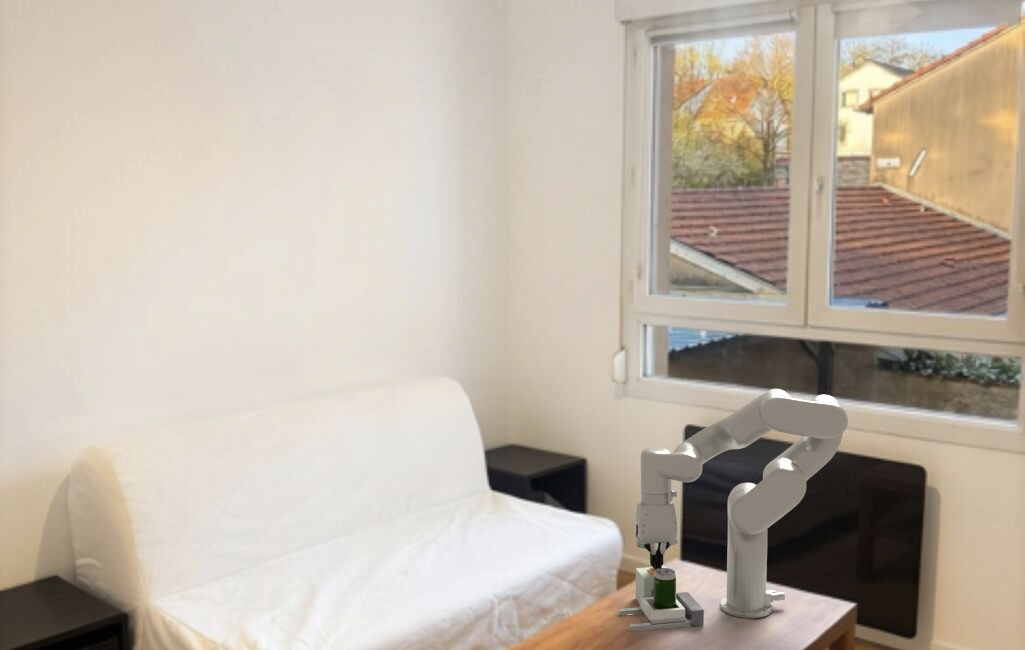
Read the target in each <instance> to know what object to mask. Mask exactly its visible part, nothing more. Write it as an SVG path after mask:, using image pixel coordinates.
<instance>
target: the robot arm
mask: <svg viewBox="0 0 1025 650" xmlns="http://www.w3.org/2000/svg"><path fill="white" fill-rule="evenodd" d="M848 422H849V418H848V414H847V413H846V410H845V409H844V408H843V406H842V404H841V402H839V401H838V400H837V398H835V397H834V396H831V395H829V394H820V395H817V396H815V397H813V398H812V399H811V400H804V399H798V398H794V397H793V398H792V397H791V396H790V394H789V393H788V392H786V391H785V390H783V389H780V388H772V389H769V390H766V392H763V393H762V394H761V395H759V396H757V397H756V398H754V399H752V400H751V401H750V402H747V404H745V405H743V406H742V407H740V408H739V409H738V410H736V411H734V412H733V413H730V414H729V415H728V416H726V417H724V418H723V419H720V420H718V421H717V422H714V423H713V424H711V425H709V426H706V427H705V428H702V429H701V430H699V431H698V432H696V433H695V434H693V435H691V436H690V437H689V438H687V439H686V440H684V441H683V442H681V443H680V444H678V446H676V448H675V449H674V451H673V452H672V453H671V451H670V450H668V448H667V449H666V448H664V447H656V446H654V447H653V446H652V447H648V448H645V449H643V450H642V451H641V453H640V501H638V502H637V505H636V512H635V520H634V536H635V538H636V539H635V546H636V547H637V548H640V549H646V551H648V552H649V563H650V567H653V568H654V569H655V570H656V569H659V568H662V566H664V555H665V553H666V551H667V550H668V549H669V548H670V547H672V546H674V545H675V546H676V545H678V533H679V532H678V531H679V530H678V521H677V520H678V518H677V512H676V506H675V503H674V501H673V498H677V496H678V494H677V491H676V490H675V491H674V490H672V481H677V482H681V483H682V482H683V483H692V482H695V481H696V480H697V479H699V478H700V476H701V475H702V472H703V465H704V464H705V463H706V462H708V461H709V460H711V459H714V458H715V457H716V456H718V455H720V454H722V453H724V452H727V451H729V450H740V449H744V448H747V447H748V446H750V445H752V444H753V443H754V442H756V441H758V440H759V439H760V438H762V437H764V436H766V435H767V434H768V433H770V432H772V431H775V432H778V433H781V434H782V433H783V434H789V435H793V436H794V435H795V436H801V437H800V438H798V439H797V440H796V441H795V442H794V443H793V444H792V445H791V446H789V447H788V448H787V449H786V450H784V451H783V452H782V453H780V454H779V455H778V456H777V457H775V458H774V459H772V460H771V461H769V463H767V464H766V466H765V468H764V469H763V472H762V480H761V481H760V482H758V483H757V484H755V483H752V482H742V483H739V484H737V485H736V486H734V487H733V488H732V490H731V491H730V493H729V495H728V498H727V557H726V561H727V562H726V596H724V597H722V598H721V599H720V601H719V602H720V603H719V607H720V609H721V610H722V611H723V612H725V613H726V614H728V615H731V616H734V617H739V618H745V619H759V618H763V617H767V616H768V615H770V614H771V613H772V611H773V605H772V603H773V602H774V601H776V602H777V601H785V597H786V595H785V592H782V591H781V592H776V590H774V589H769V590H767V568H768V567H767V561H768V559H767V558H768V528H770V527H771V526H772V525H774V524H775V523H777V522H778V521H779V520H780V519H782V518H783V517H784V516H785V515H787V514H788V513H789V512H790V511H792V510H793V509H794V508H795V507H797V506H798V505H799V504H800V502H801V501H802V500H803V498H804V497H805V494H806V492H807V482H808V480H810V478H812V477H813V476H815V474H817V473H818V472H819V471H820V470H821V469H822V468H824V466H826V465H827V464H828V463H829V462H830V461H831V460H832V459H833V458H834V456H835V454H836V453H837V452H838V450H839V447H840V445H841V443H842V442H841V441H842V439H843V434H844V433H845V431H846V430H847V427H848V424H849V423H848ZM656 544H657V545H656ZM656 546H657V547H656Z"/></svg>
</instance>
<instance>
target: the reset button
mask: <svg viewBox="0 0 1025 650" xmlns="http://www.w3.org/2000/svg"><path fill="white" fill-rule="evenodd" d="M651 567H652V566H651ZM654 573H655V569H654V568H653V567H652V568H650V569H649V574H650V575H654Z"/></svg>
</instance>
